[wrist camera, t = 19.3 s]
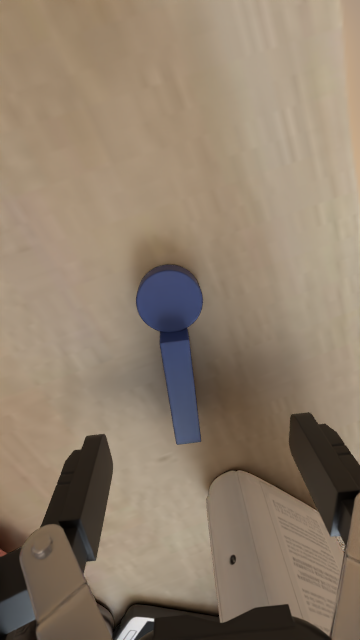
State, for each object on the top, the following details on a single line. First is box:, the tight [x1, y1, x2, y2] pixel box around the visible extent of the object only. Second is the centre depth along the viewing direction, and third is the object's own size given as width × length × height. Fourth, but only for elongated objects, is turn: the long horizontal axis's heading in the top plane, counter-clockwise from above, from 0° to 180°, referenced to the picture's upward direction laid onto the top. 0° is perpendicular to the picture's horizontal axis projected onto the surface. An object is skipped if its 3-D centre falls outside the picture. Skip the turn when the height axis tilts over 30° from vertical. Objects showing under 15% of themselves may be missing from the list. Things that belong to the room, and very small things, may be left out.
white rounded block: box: [206, 470, 344, 636], centre depth 17 cm, size 10×4×12 cm, turn 53°
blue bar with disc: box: [136, 265, 203, 445], centre depth 16 cm, size 10×3×2 cm, turn 7°
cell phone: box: [112, 605, 220, 640], centre depth 29 cm, size 8×15×1 cm, turn 67°
